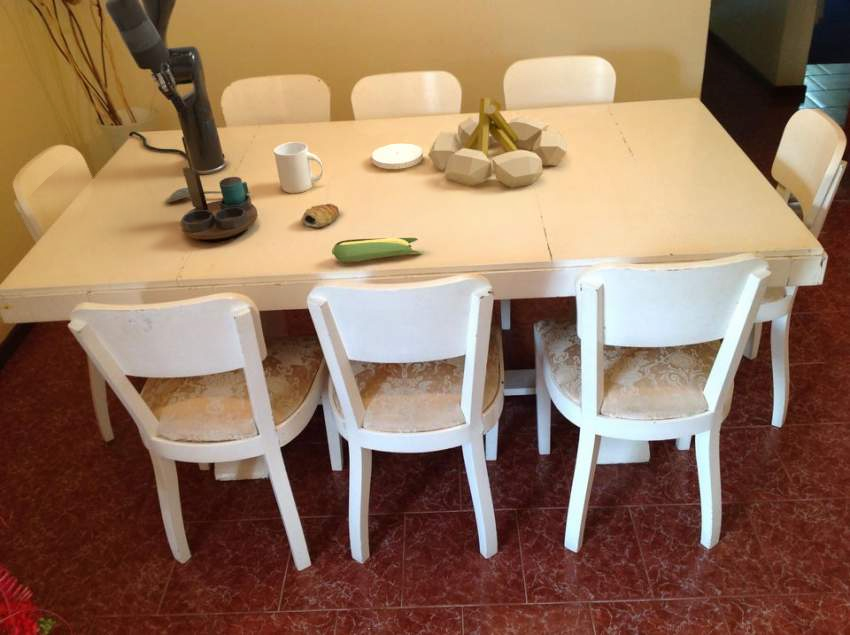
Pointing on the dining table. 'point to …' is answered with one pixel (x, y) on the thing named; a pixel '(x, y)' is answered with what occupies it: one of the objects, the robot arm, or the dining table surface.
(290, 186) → the mug
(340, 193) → the dining table surface
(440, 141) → the campfire
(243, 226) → the cup holder
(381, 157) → the plastic lid
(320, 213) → the pastry
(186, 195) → the soupspoon
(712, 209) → the dining table surface
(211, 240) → the carousel base
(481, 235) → the dining table surface
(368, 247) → the edible corn
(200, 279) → the dining table surface
